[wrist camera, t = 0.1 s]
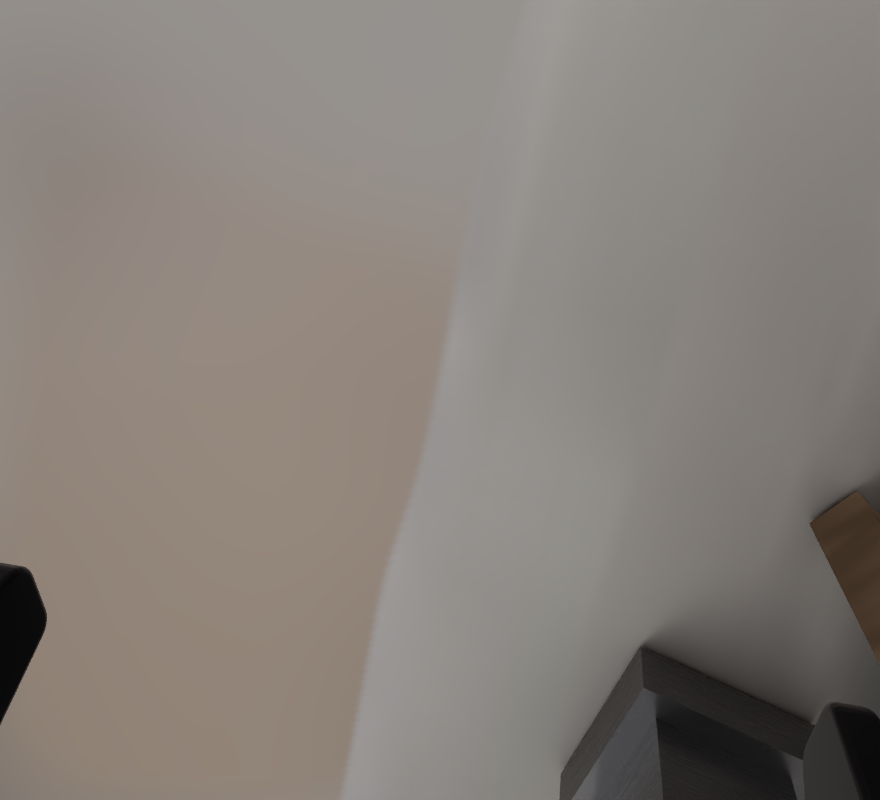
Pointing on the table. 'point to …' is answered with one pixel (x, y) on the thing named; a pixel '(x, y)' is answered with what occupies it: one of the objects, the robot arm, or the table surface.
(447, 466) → the table surface
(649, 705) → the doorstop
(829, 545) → the door frame
